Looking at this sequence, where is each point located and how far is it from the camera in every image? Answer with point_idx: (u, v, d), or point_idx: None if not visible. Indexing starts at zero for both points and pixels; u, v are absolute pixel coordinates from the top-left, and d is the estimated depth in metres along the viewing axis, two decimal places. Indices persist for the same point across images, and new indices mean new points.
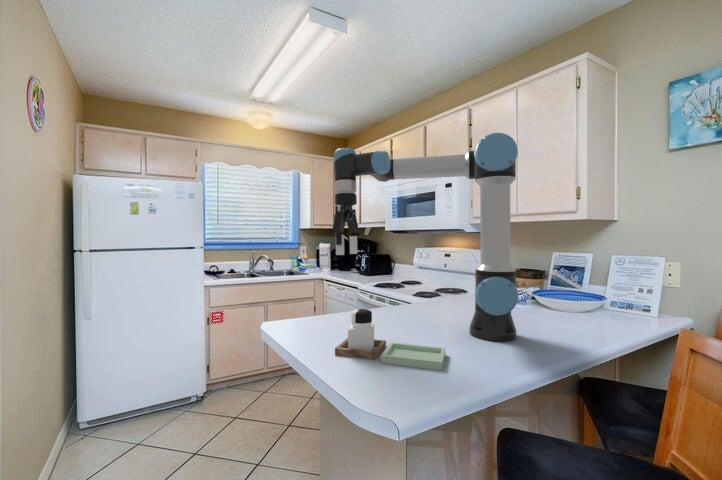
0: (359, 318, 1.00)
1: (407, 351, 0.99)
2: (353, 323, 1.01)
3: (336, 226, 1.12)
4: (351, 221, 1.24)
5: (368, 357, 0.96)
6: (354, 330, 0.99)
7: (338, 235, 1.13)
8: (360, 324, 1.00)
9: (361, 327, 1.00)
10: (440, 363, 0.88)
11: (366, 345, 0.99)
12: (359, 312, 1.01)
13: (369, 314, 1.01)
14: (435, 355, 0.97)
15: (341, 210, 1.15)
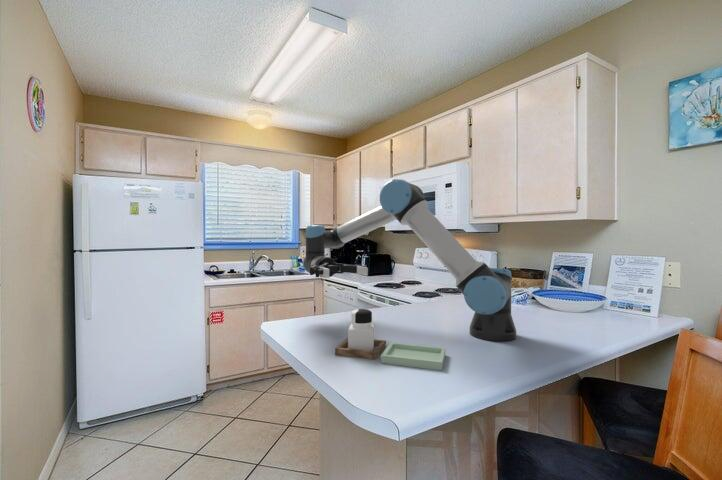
0: (359, 318, 1.00)
1: (407, 351, 0.99)
2: (353, 323, 1.01)
3: None
4: (342, 266, 1.23)
5: (368, 357, 0.96)
6: (354, 330, 0.99)
7: (316, 270, 1.13)
8: (360, 324, 1.00)
9: (361, 327, 1.00)
10: (440, 363, 0.88)
11: (366, 345, 0.99)
12: (359, 312, 1.01)
13: (369, 314, 1.01)
14: (435, 355, 0.97)
15: (312, 266, 1.21)
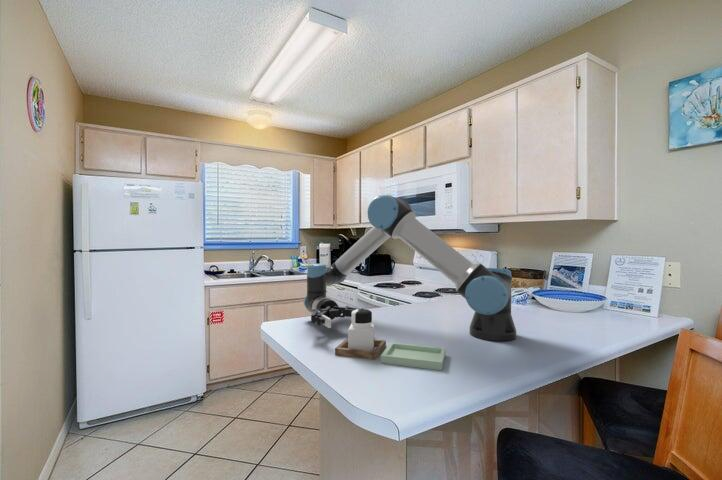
0: (359, 318, 1.00)
1: (407, 351, 0.99)
2: (353, 323, 1.01)
3: None
4: (344, 310, 1.21)
5: (368, 357, 0.96)
6: (354, 330, 0.99)
7: (317, 318, 1.11)
8: (360, 324, 1.00)
9: (361, 327, 1.00)
10: (440, 363, 0.88)
11: (366, 345, 0.99)
12: (359, 312, 1.01)
13: (369, 314, 1.01)
14: (435, 355, 0.97)
15: None
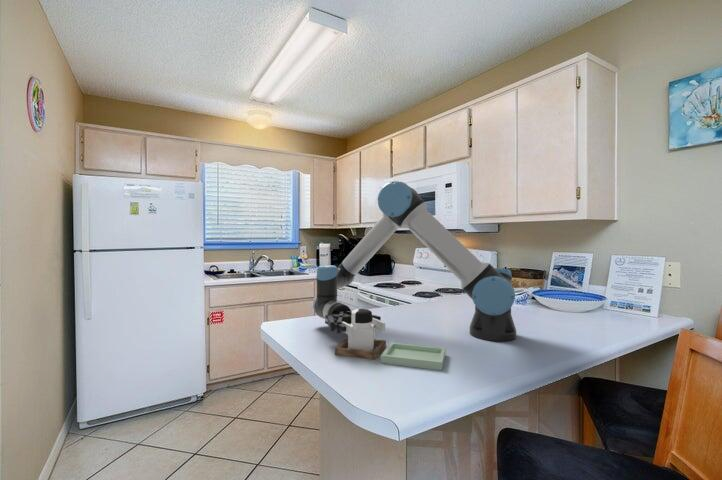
0: (359, 318, 1.00)
1: (407, 351, 0.99)
2: (353, 323, 1.01)
3: (329, 325, 1.03)
4: None
5: (368, 357, 0.96)
6: (354, 330, 0.99)
7: (337, 326, 1.01)
8: (360, 324, 1.00)
9: (361, 327, 1.00)
10: (440, 363, 0.88)
11: (366, 345, 0.99)
12: (359, 312, 1.01)
13: (369, 314, 1.01)
14: (435, 355, 0.97)
15: (327, 317, 1.09)
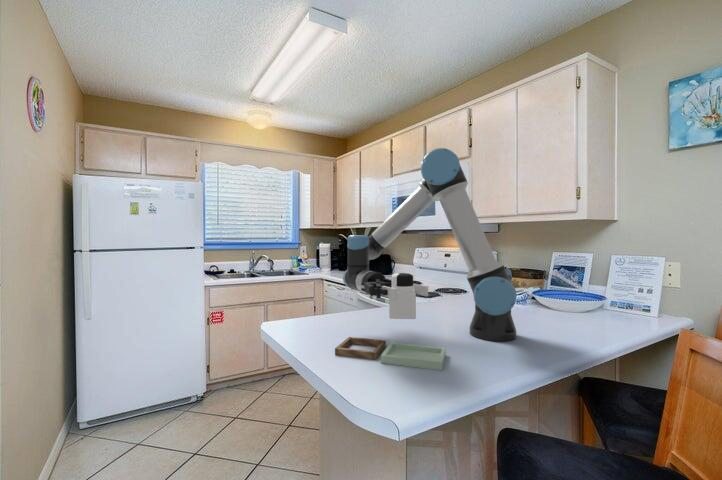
0: (401, 281, 0.94)
1: (407, 351, 0.99)
2: (394, 287, 0.95)
3: (368, 290, 0.98)
4: None
5: (368, 357, 0.96)
6: None
7: (378, 290, 0.96)
8: (402, 287, 0.94)
9: (403, 290, 0.95)
10: (440, 363, 0.88)
11: (409, 309, 0.94)
12: (400, 275, 0.95)
13: (411, 277, 0.95)
14: (435, 355, 0.97)
15: (363, 284, 1.04)
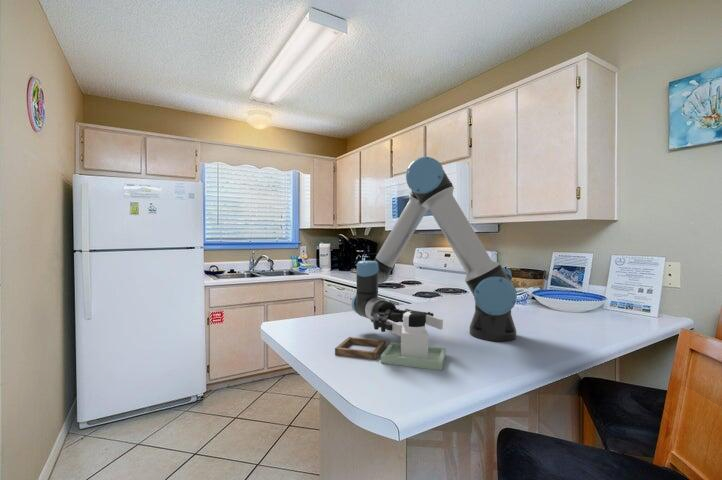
0: (413, 322, 0.93)
1: None
2: (406, 327, 0.94)
3: None
4: None
5: (368, 357, 0.96)
6: (408, 334, 0.93)
7: (382, 324, 0.95)
8: (414, 328, 0.93)
9: (415, 331, 0.93)
10: (440, 363, 0.88)
11: (422, 350, 0.92)
12: (413, 315, 0.94)
13: (423, 317, 0.94)
14: (435, 355, 0.97)
15: (372, 315, 1.03)
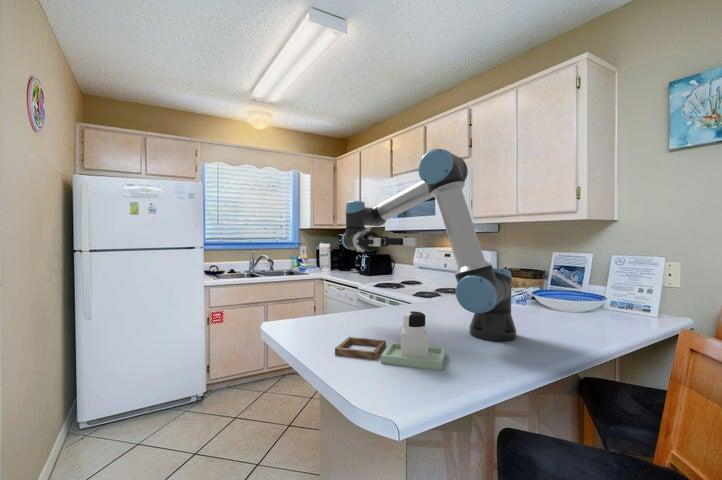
0: (413, 322, 0.93)
1: None
2: (406, 327, 0.94)
3: None
4: (387, 239, 1.23)
5: (368, 357, 0.96)
6: (408, 334, 0.93)
7: (365, 241, 1.13)
8: (414, 328, 0.93)
9: (415, 331, 0.93)
10: (440, 363, 0.88)
11: (422, 350, 0.92)
12: (413, 315, 0.94)
13: (423, 317, 0.94)
14: (435, 355, 0.97)
15: (358, 238, 1.21)
